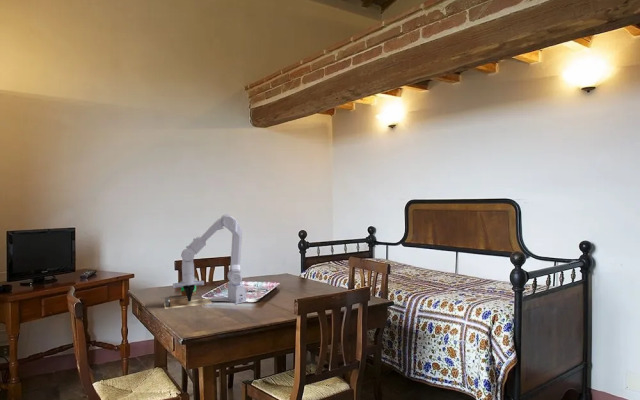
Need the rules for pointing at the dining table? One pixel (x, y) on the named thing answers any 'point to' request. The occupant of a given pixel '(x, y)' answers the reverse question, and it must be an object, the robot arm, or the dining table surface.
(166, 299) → the cylinder
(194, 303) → the board
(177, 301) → the tan cardboard box
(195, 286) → the food container
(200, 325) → the dining table surface
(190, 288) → the robot arm
